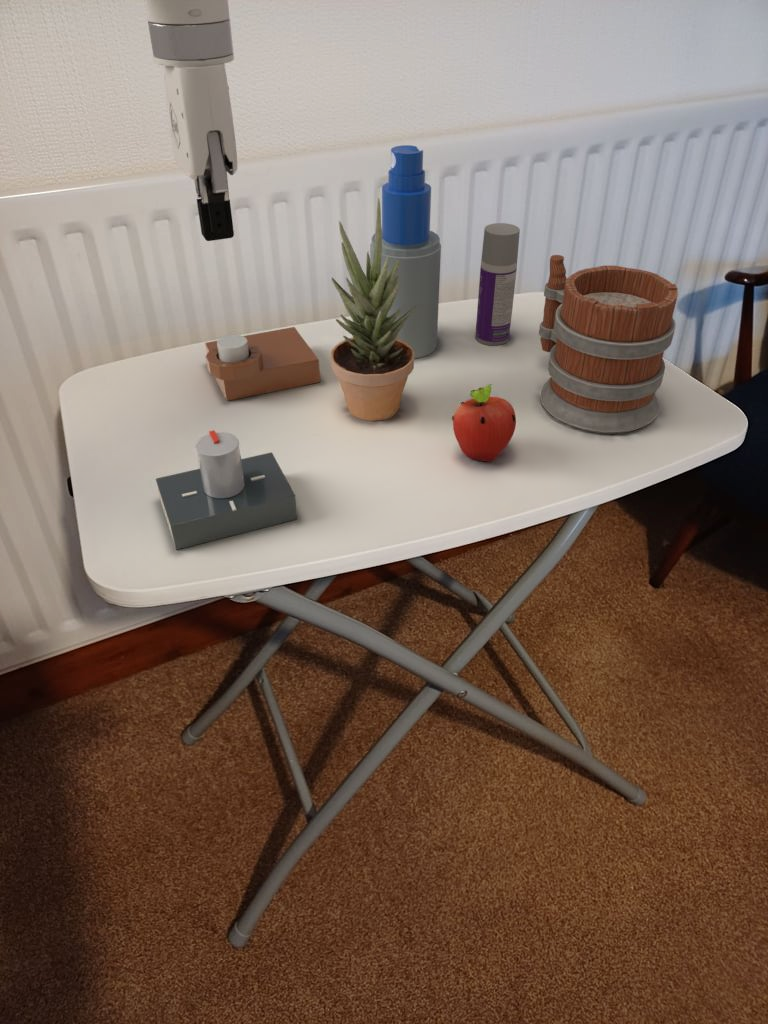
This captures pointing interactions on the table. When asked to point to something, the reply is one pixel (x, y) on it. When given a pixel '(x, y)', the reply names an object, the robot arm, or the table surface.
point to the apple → (484, 425)
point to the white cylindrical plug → (233, 348)
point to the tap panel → (226, 503)
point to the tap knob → (220, 464)
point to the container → (497, 283)
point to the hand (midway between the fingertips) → (218, 236)
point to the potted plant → (371, 336)
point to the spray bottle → (411, 248)
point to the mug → (605, 345)
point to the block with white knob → (265, 365)
